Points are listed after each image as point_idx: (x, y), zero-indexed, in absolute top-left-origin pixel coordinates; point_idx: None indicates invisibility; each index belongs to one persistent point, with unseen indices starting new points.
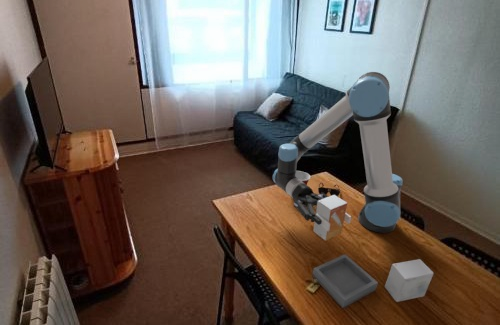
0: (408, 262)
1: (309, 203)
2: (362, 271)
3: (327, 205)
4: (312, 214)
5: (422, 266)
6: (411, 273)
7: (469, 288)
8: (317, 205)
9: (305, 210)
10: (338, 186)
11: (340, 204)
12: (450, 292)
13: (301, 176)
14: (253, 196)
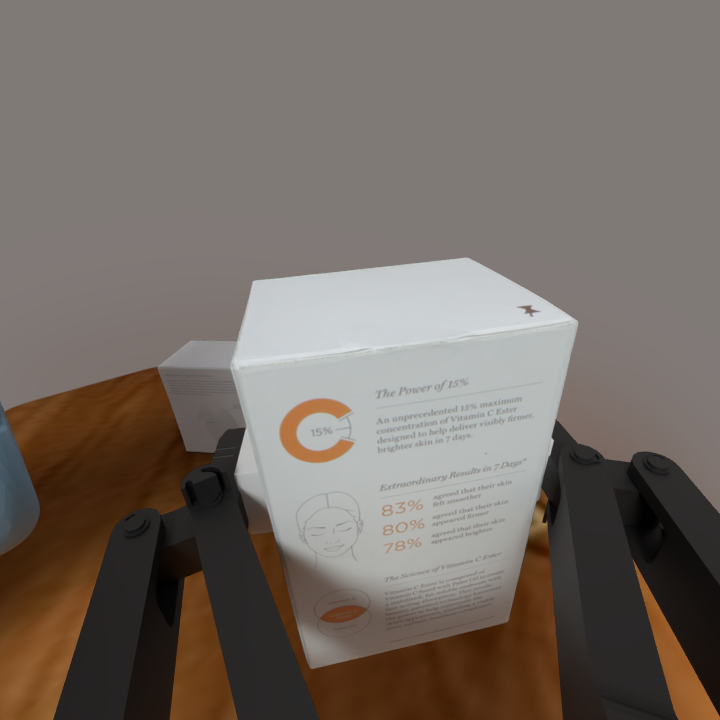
0: (206, 364)
1: (633, 702)
2: None
3: (475, 275)
4: (595, 450)
5: (189, 351)
6: None
7: (92, 407)
8: (559, 375)
9: (703, 529)
10: None
11: (335, 274)
12: (144, 410)
13: None
14: None
